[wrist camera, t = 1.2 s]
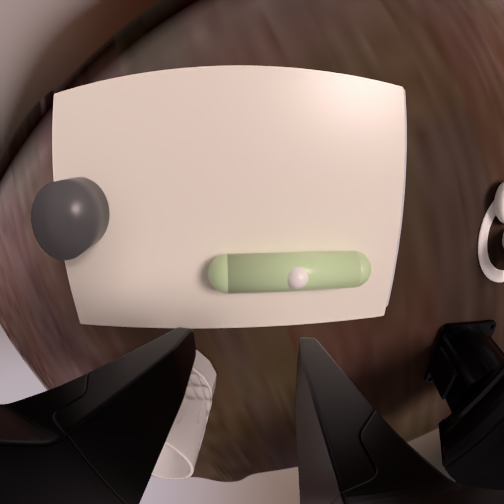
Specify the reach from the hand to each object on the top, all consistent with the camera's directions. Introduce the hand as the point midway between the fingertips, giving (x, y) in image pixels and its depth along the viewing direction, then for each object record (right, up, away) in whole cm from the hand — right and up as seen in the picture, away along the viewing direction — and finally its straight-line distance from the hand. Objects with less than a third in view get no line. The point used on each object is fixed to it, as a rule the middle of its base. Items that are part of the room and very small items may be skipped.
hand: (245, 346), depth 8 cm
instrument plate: (-1, +5, +6) cm, 8 cm away
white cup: (-6, -8, +17) cm, 20 cm away
